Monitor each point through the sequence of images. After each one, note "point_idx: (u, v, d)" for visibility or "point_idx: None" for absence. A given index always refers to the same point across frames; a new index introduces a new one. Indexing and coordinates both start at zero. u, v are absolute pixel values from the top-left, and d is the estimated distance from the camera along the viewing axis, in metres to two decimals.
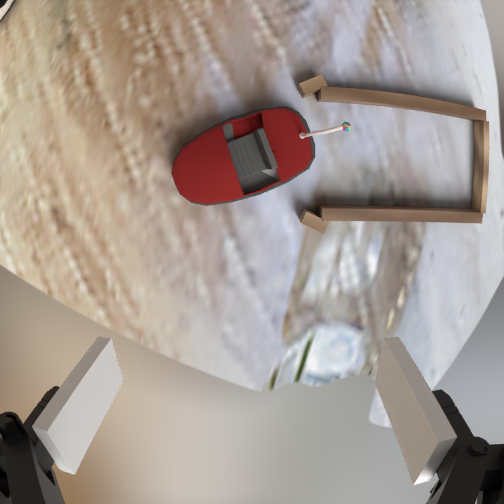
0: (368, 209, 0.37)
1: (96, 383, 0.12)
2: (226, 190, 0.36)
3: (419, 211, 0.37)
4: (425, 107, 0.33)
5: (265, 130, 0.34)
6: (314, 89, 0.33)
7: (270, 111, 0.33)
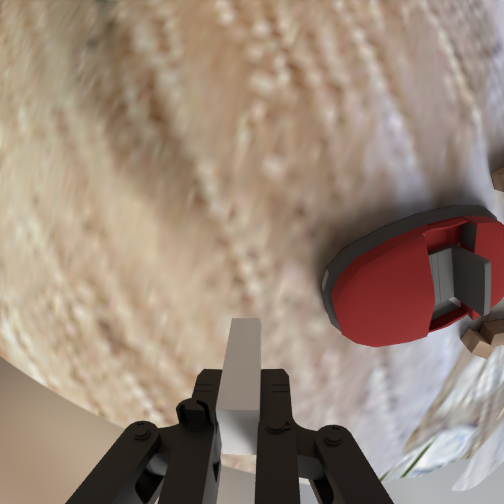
0: None
1: None
2: (411, 333, 0.22)
3: None
4: None
5: (476, 252, 0.20)
6: None
7: (486, 225, 0.19)
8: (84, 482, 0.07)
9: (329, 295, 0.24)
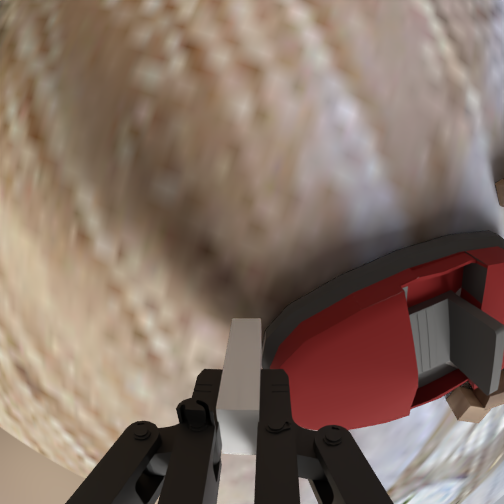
0: None
1: None
2: (384, 417, 0.15)
3: None
4: None
5: (483, 307, 0.13)
6: None
7: (501, 267, 0.12)
8: (84, 482, 0.07)
9: None
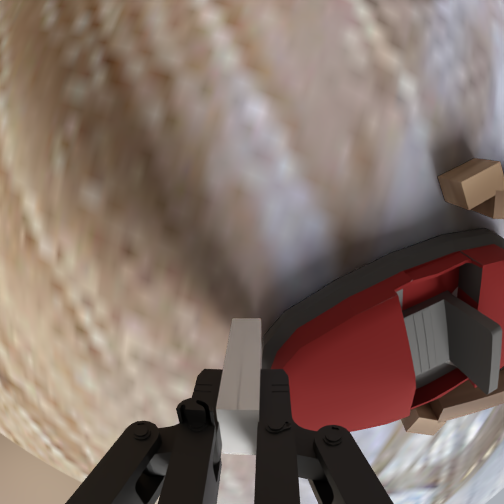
0: (501, 391, 0.17)
1: None
2: (384, 419, 0.15)
3: None
4: None
5: (480, 307, 0.13)
6: (485, 197, 0.13)
7: (497, 266, 0.12)
8: (84, 482, 0.07)
9: None
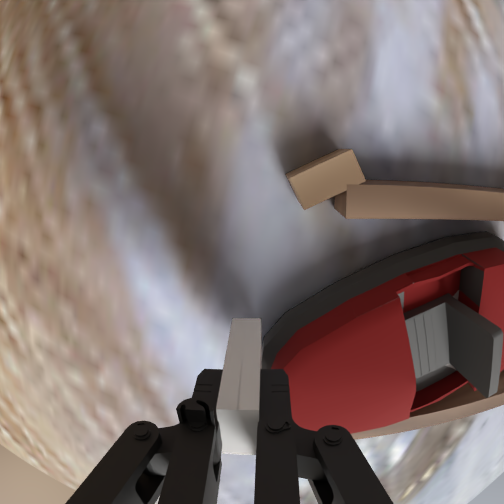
0: (409, 417, 0.17)
1: None
2: (384, 421, 0.15)
3: (489, 399, 0.17)
4: None
5: (481, 310, 0.13)
6: (330, 194, 0.13)
7: (498, 269, 0.12)
8: (84, 482, 0.07)
9: None
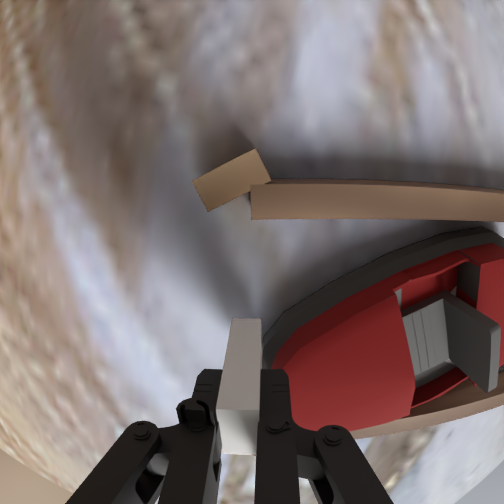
0: None
1: None
2: (384, 418, 0.15)
3: (445, 411, 0.17)
4: None
5: (479, 305, 0.13)
6: (233, 195, 0.14)
7: (495, 265, 0.12)
8: (84, 482, 0.07)
9: None
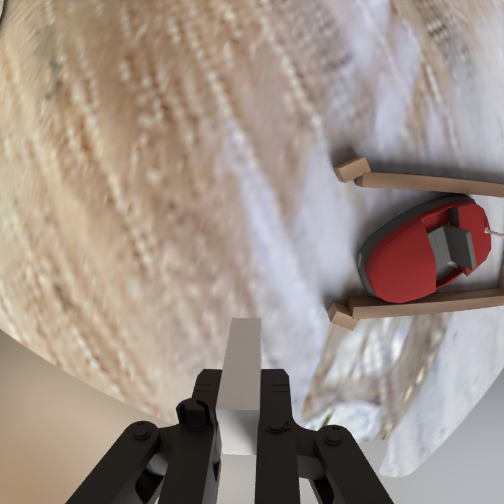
0: (400, 305, 0.34)
1: None
2: (424, 289, 0.32)
3: (450, 302, 0.34)
4: (470, 192, 0.30)
5: (460, 227, 0.30)
6: (355, 176, 0.30)
7: (465, 207, 0.29)
8: (84, 482, 0.07)
9: (364, 270, 0.34)
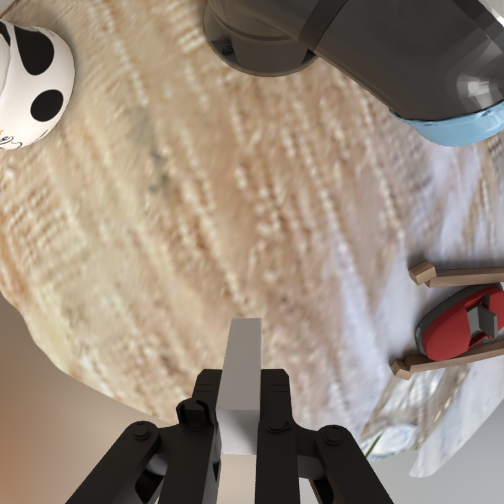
0: None
1: None
2: (460, 351, 0.40)
3: (475, 355, 0.42)
4: (499, 281, 0.38)
5: (489, 308, 0.38)
6: (426, 280, 0.39)
7: (495, 295, 0.37)
8: (84, 482, 0.07)
9: (420, 340, 0.42)
